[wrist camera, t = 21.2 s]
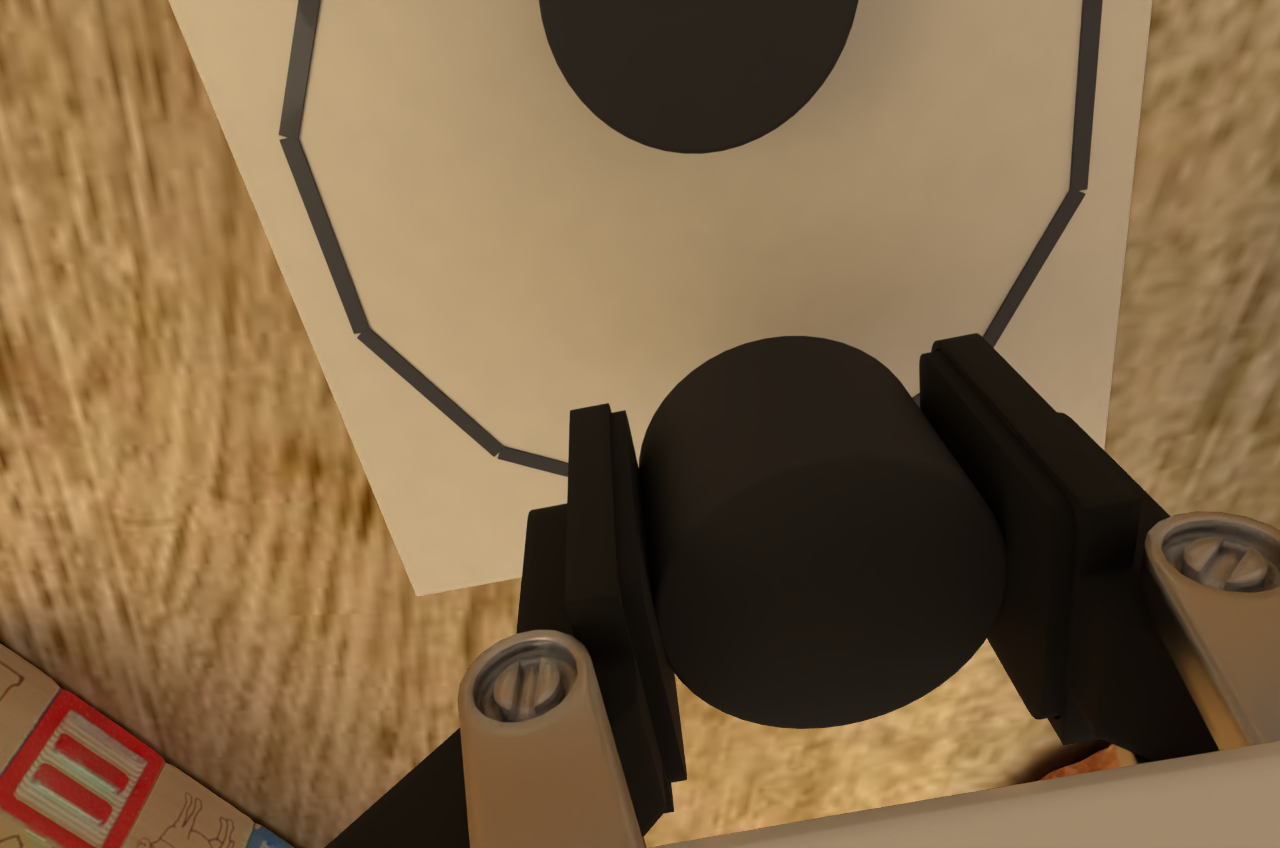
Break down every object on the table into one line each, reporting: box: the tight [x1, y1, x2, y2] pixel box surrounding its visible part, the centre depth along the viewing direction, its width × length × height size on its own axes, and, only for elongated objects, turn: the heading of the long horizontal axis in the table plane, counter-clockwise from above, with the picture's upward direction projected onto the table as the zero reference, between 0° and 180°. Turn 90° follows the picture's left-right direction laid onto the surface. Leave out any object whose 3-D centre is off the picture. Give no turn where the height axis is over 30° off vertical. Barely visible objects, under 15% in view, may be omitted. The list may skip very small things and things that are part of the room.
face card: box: [168, 0, 1152, 597], centre depth 15 cm, size 16×15×1 cm
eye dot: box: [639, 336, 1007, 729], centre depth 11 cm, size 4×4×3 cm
